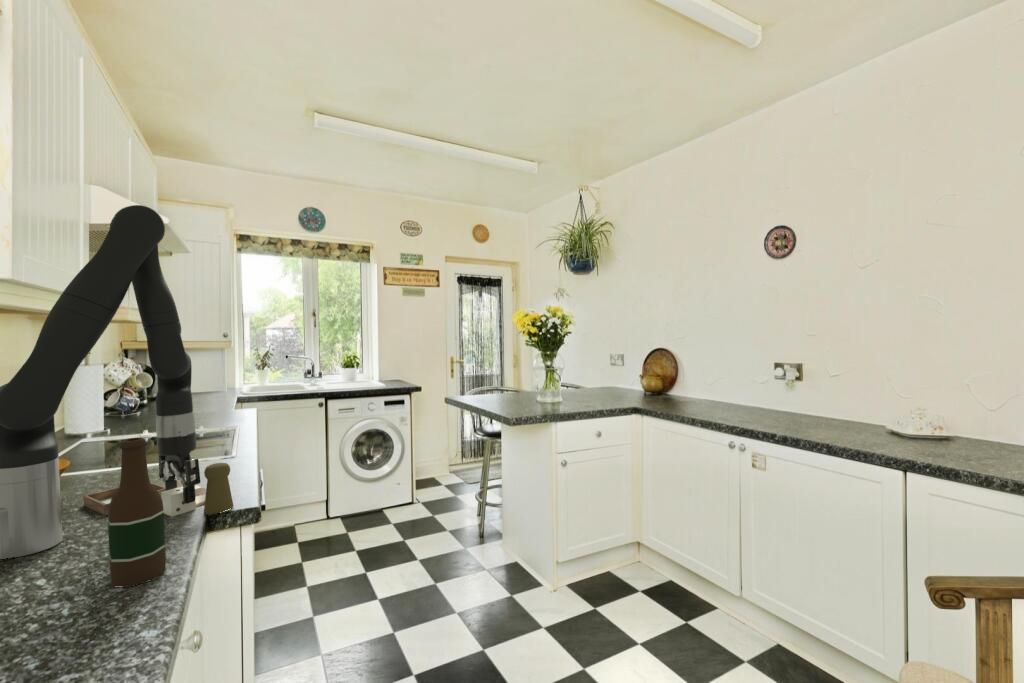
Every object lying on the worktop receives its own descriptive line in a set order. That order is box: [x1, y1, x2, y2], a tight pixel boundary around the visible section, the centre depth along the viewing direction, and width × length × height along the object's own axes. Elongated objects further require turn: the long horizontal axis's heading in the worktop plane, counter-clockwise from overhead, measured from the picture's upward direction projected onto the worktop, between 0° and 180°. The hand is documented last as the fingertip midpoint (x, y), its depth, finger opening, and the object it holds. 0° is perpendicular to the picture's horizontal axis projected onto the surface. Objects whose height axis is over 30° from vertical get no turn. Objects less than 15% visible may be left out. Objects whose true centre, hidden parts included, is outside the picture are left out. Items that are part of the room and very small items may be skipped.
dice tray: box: [82, 481, 166, 516], centre depth 117 cm, size 13×13×2 cm
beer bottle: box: [107, 437, 167, 588], centre depth 80 cm, size 8×8×24 cm
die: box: [161, 486, 197, 517], centre depth 110 cm, size 5×5×5 cm
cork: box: [203, 462, 234, 516], centre depth 110 cm, size 6×6×11 cm
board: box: [162, 480, 207, 507], centre depth 122 cm, size 7×24×1 cm, turn 59°
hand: (180, 499), depth 111 cm, fingers open, 8 cm apart
